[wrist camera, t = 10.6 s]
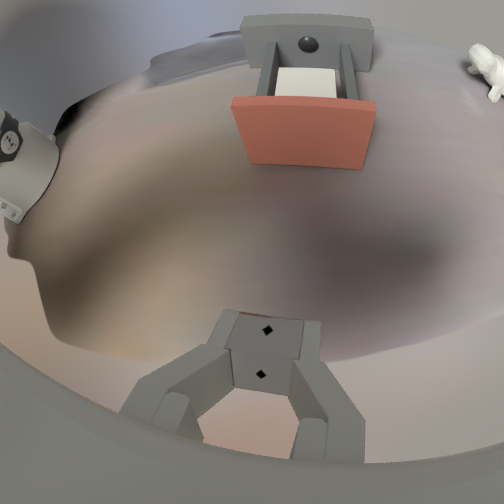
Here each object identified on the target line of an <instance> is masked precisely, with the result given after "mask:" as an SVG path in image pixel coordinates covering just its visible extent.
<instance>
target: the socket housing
mask: <svg viewBox="0 0 504 504" xmlns="http://www.w3.org/2000/svg"><path fill="white" fill-rule="evenodd" d="M240 31H241V34H242V38H243V42H244V45H245V49H246V53H247V57H248V61H249V65H250V68H262V70H261V75H260V79H259V84H258V89H257V94H256V96H275V90H276V84H277V77H278V70H279V68H280V67H311V68H330V69H339V71H340V81H341V90H342V99H353V100H358V94H357V87H356V81H355V75H354V71H363V72H369V71H370V64H371V56H372V47H373V38H374V28H373V26H372V23H371V21H370V19H368V18H361V17H352V16H341V15H327V14H269V15H256V16H245V17H244V19H243V21H242V23H241V25H240Z"/></svg>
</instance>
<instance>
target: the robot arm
mask: <svg viewBox="0 0 504 504" xmlns="http://www.w3.org/2000/svg"><path fill="white" fill-rule="evenodd" d="M55 141H56V137H55V136H54V135H53V134H50V135H48V136H46V135H45V134H43V133H42V132H41V131H39V130H38V129H36V128H35V127H34V126H32V125H31V124H30V123H28V122H24V123H21V124H19V123H18V121H17V120H16V119H15V118H14V116H12V115H11V114H9V113H8V112H7V111H5V112H3V111H2V110H1V109H0V214H1V215H3V216H4V217H6V218H8V219H9V220H11V221H13V222H15V223H16V224H18V223H20V221H21V220H22V219H23V217H24V215H25V214H26V212H27V211H28V210H29V209H30V208H31V207H32V206H33V205H34V204H35V203H36V202H37V200H38V199H39V198H40V197H41V195H42V194H43V192H44V191H45V189H46V188H47V186H48V184H49V182H50V181H51V179H52V176H53V174H54V172H55V169H56V166H57V163H58V159H59V149H58V147H57V146H56V144H55ZM321 327H322V323H321V321H314V320H305V321H304V320H300V319H291V318H282V317H273V316H266V315H259V314H253V313H247V312H239V311H233V310H227V309H225V310H224V311H223V312H222V313H221V315H220V318H219V320H218V322H217V324H216V326H215V328H214V330H213V332H212V334H211V336H210V338H209V340H208V342H207V344H206V345H203V344H201V345H200V346H198V347H196V348H194V349H193V350H191V351H189V352H187V353H186V354H184V355H182V356H180V357H179V358H177V359H175V360H173V361H172V362H170V363H168V364H166V365H164V366H163V367H161V368H159V369H157V370H155V371H154V372H152V373H150V374H148V375H146V376H144V377H142V378H141V379H139V380H138V382H137V383H136V385H135V387H134V388H133V390H132V392H131V393H130V395H129V397H128V398H127V400H126V401H125V403H124V405H123V406H122V408H121V410H120V411H119V413H117V412H115V411H113V410H110V409H108V408H106V407H104V406H102V405H100V404H98V403H96V402H94V401H91V400H90V399H88V398H86V397H84V396H82V395H80V394H78V393H76V392H74V391H73V390H71V389H69V388H67V387H65V386H64V385H62V384H60V383H59V382H57V381H55V380H53V379H52V378H50V377H49V376H47V375H45V374H44V373H42V372H41V371H39V370H37V369H36V368H34V367H33V366H31V365H30V364H28V363H27V362H26V361H24V360H23V359H21V358H20V357H18V356H17V355H16V354H14V353H13V352H11V351H10V350H9V349H7V348H6V347H5V346H3V345H2V344H1V343H0V504H504V442H502V443H499V444H495V445H492V446H488V447H485V448H481V449H477V450H473V451H468V452H464V453H459V454H454V455H448V456H443V457H437V458H430V459H422V460H414V461H405V462H404V461H403V462H390V463H364V456H365V419H364V418H363V416H362V415H361V414H360V412H359V411H358V409H357V408H356V407H355V405H354V404H353V402H352V401H351V400H350V398H349V397H348V395H347V394H346V392H345V391H344V390H343V389H342V387H341V385H340V384H339V383H338V381H337V380H336V378H335V377H334V376H333V374H332V373H331V371H330V370H329V369H328V367H327V366H326V364H325V363H324V362H319V357H320V343H321ZM301 341H302V342H301ZM234 387H235V388H241V389H247V390H254V391H261V392H266V393H272V394H279V395H285V396H288V399H289V401H290V403H291V405H292V407H293V410H294V412H295V414H296V416H297V418H298V420H299V426H298V429H297V433H296V436H295V440H294V443H293V447H292V450H291V453H290V457H289V459H282V458H274V457H268V456H261V455H255V454H250V453H245V452H240V451H235V450H231V449H226V448H221V447H218V446H213V445H210V444H206V443H202V442H203V439H204V437H203V435H202V432H201V430H200V427H199V424H198V421H197V419H198V418H199V417H200V416H201V415H203V414H204V413H205V412H206V411H208V410H209V409H210V408H211V407H213V406H214V405H215V404H216V403H217V402H219V401H220V400H221V399H222V398H224V397H225V396H226V395H227V394H228V393H229V392H231V391H232V390H233V389H234Z"/></svg>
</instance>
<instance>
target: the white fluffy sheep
mask: <svg viewBox="0 0 504 504" xmlns="http://www.w3.org/2000/svg"><path fill="white" fill-rule="evenodd" d="M467 56H468V58H469V60H470V62H471V63H472V66H470V67H468V68H467V69H468V72H469V73H471V74H473V75H475V74H483V76H484V78H485V80H486V81H487V82H488V84H489V85H490V86H492V89H491V91H490V92H489V94H488V98H489V99H490V101H491V102H493V103H496V102H497V101H498V100H499V98H500V96H501V94H503V95H504V59H503V58H501V57H500V56H498V55H494V54H492V53H491V52H490V50H489V49H487V48H486V47H485V46H483V45H481V44H475V45H473V46H472V47H471V48H470V49H469V51H468V54H467Z"/></svg>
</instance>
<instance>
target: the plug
mask: <svg viewBox="0 0 504 504" xmlns="http://www.w3.org/2000/svg"><path fill="white" fill-rule="evenodd" d="M231 109H232V112H233V114H234V117H235V120H236V123H237V126H238V129H239V132H240V135H241V137H242V140H243V143H244V146H245V149H246V152H247V155H248V158H249V161H250V164H282V165H303V166H319V167H333V168H345V169H355V170H362V167H363V164H364V160H365V156H366V152H367V148H368V145H369V141H370V136H371V132H372V128H373V124H374V120H375V115H376V107H375V102H371V101H362V100H353V99H342V98H337V97H336V84H335V72H334V69H322V68H279V70H278V77H277V84H276V90H275V96H248V97H233V100H232V103H231Z"/></svg>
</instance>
